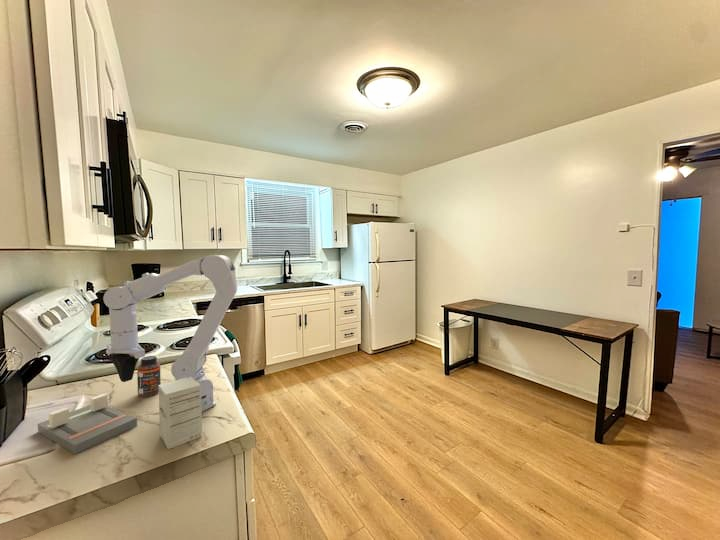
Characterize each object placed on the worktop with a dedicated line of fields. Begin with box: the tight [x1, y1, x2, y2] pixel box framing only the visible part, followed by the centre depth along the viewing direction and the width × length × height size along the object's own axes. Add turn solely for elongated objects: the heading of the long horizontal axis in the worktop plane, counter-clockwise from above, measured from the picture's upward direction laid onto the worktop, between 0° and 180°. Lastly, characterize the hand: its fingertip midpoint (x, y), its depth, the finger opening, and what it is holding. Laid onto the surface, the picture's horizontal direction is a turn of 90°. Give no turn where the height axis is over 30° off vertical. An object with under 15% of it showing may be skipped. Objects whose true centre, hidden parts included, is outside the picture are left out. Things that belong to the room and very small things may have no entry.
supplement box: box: [158, 377, 203, 450], centre depth 70 cm, size 7×7×13 cm
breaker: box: [48, 407, 70, 428], centre depth 71 cm, size 2×3×3 cm, turn 154°
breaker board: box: [37, 404, 138, 455], centre depth 74 cm, size 19×12×2 cm, turn 64°
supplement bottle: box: [136, 355, 162, 398], centre depth 93 cm, size 6×6×11 cm
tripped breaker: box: [89, 393, 109, 411], centre depth 79 cm, size 2×3×3 cm, turn 154°
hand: (126, 380), depth 80 cm, fingers closed
